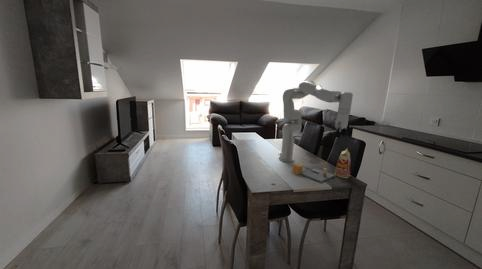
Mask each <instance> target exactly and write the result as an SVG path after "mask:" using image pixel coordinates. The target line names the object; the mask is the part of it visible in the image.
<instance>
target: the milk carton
mask: <svg viewBox="0 0 482 269" xmlns="http://www.w3.org/2000/svg"><path fill="white" fill-rule="evenodd" d="M333 175H335V177H336V176H337V177H338V178H339V177H340V178H344V179H348V178H349V177H350V176H351V152H350V151H349V150H348V148H346V149H345V150H342V151H341V153H340V155H339V156H338V159H337V164H336V166H335V171H334V173H333Z"/></svg>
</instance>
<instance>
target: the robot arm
mask: <svg viewBox="0 0 482 269" xmlns="http://www.w3.org/2000/svg"><path fill="white" fill-rule="evenodd" d="M322 87H323V86H322V85H321V84H317V83H315V82H314V81H312V80H303V81H301V82H300V83H299V85H298V87H289V88H287V89H285V90H284V92H283V94H282V101H283V118H284V121H286V122H287V123H285V124H283V126H282V128H281V131H282V132H281V133H282V142H281V143H282V144H281V152H278V156H279V157H278V159H279V160H280V161H281V162H285V163H292V162H295V158H294V156H293V154H294V145H295V138H294V135H296V134H299V133H300V132H301V131H302V128H303V127H302V121H303V120H302V113H301V111H300V110H299V109H295V103H294V100H300V99H303V98H305V97H307V96H309V95H311V96H312V97H315V98H316V99H318V100H320V101H323V102H325V103H328V104H329V103H338V106H337V115H336V120H335V124H334V125H335V126H334V127H335V128H334V129H335V134H334V137H335V138H338V139H340V138H341V136H346V135H347V129H348V124H349V116H350V114H351V109H352V102H353V96H354V94H353V92H350V91H349V92H348V91H339V90H337V91H336V90H328V89H325V88H322Z"/></svg>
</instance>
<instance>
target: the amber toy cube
mask: <svg viewBox="0 0 482 269" xmlns="http://www.w3.org/2000/svg"><path fill="white" fill-rule="evenodd" d="M303 168H304V165H303V164H300V163H294V164H292V172H291V173H293V174H295V175H301V173H303Z"/></svg>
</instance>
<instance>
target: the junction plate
mask: <svg viewBox="0 0 482 269" xmlns="http://www.w3.org/2000/svg"><path fill="white" fill-rule="evenodd" d="M300 176H302V177H305V178H307V177H308V179H311V180H312V179H313V181H315V182H317V181H318V182H317V183H320V184H322V183H324V182H327V181H329V180H331V179H333V178H335V177H336V175H334V173H331V172H328V168H326V167H324V168H323V170H322V169H320V168H316V167H315V168H312V169H309V170H307V171H302V173H301V174H300Z"/></svg>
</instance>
